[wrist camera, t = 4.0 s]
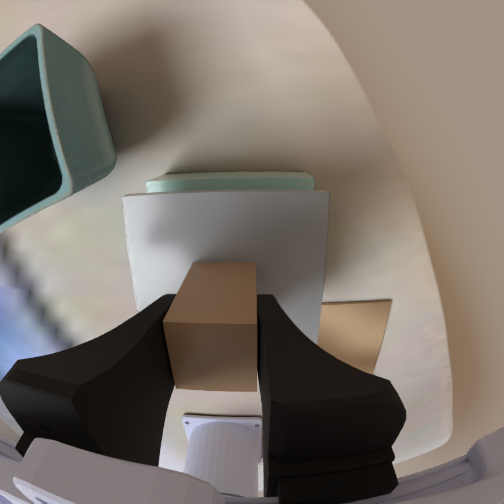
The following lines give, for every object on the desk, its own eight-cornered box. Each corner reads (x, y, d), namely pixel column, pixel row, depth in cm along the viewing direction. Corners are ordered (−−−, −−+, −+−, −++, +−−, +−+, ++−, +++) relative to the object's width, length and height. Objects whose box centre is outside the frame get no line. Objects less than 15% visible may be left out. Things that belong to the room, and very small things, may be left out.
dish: (298, 298, 22) (305, 324, 18) (175, 297, 22) (164, 323, 19) (303, 171, 19) (314, 177, 15) (164, 174, 19) (146, 181, 15)
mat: (366, 388, 25) (367, 390, 25) (262, 396, 25) (262, 398, 25) (390, 299, 22) (391, 301, 22) (263, 304, 22) (264, 306, 22)
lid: (312, 355, 16) (331, 436, 10) (152, 353, 16) (120, 428, 10) (325, 190, 13) (373, 218, 8) (128, 193, 13) (58, 223, 8)
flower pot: (27, 110, 16) (-57, 113, 8) (116, 55, 16) (40, 18, 7) (54, 210, 19) (-26, 250, 11) (148, 169, 19) (75, 193, 10)
